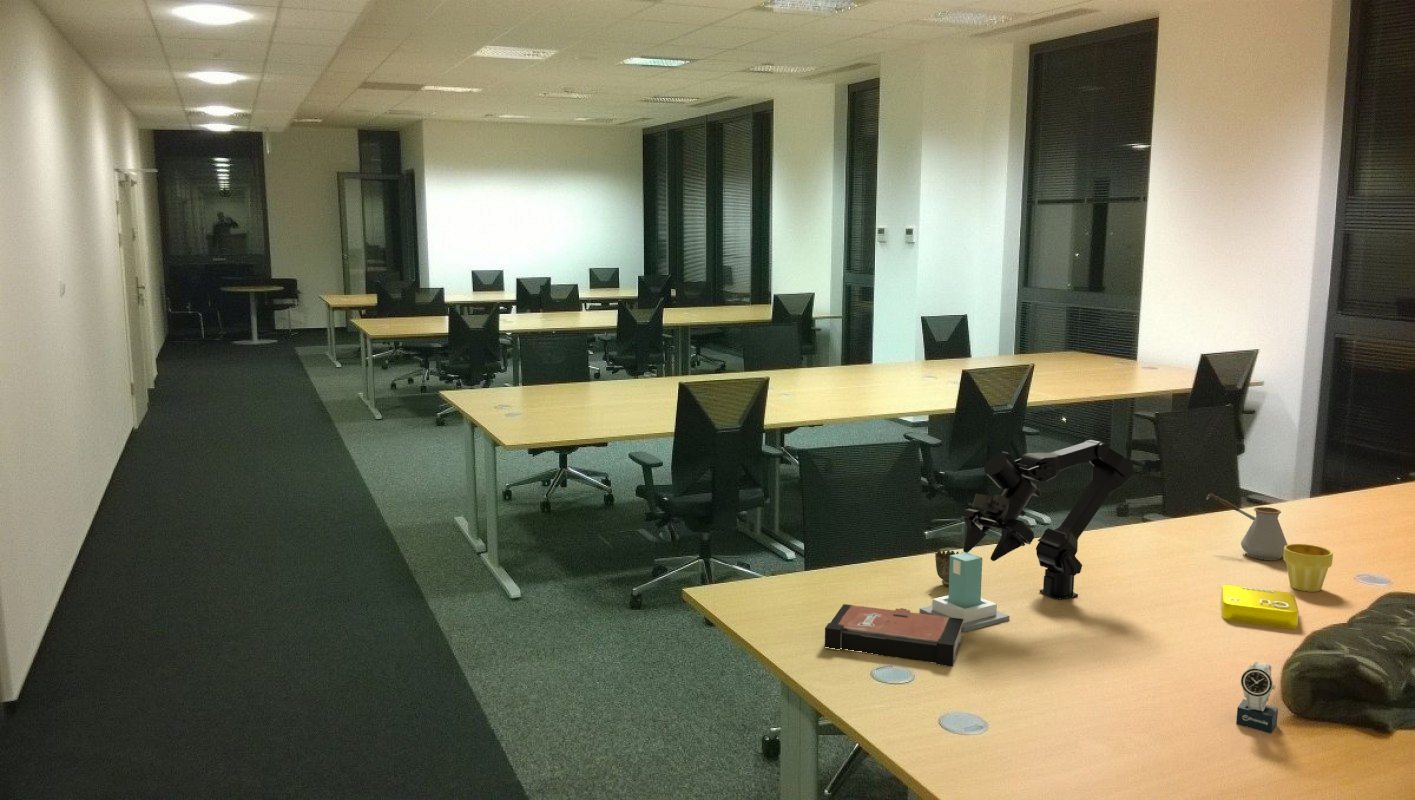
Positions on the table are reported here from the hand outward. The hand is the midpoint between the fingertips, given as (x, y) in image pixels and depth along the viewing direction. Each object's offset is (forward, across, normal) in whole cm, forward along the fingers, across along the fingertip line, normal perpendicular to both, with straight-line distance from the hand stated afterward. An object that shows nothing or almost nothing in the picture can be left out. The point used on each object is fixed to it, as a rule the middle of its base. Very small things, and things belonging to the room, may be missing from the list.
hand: (978, 556), depth 233 cm
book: (+29, +6, -10) cm, 31 cm away
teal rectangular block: (+12, 0, +5) cm, 13 cm away
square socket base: (+13, 0, +6) cm, 14 cm away
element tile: (-26, +28, +53) cm, 65 cm away
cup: (+5, -19, +13) cm, 23 cm away
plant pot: (-45, +21, +73) cm, 88 cm away
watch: (+9, +64, +18) cm, 67 cm away
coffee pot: (-55, -6, +81) cm, 98 cm away
